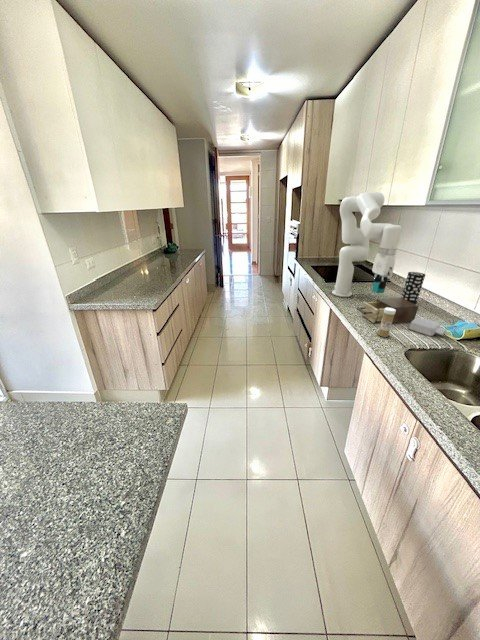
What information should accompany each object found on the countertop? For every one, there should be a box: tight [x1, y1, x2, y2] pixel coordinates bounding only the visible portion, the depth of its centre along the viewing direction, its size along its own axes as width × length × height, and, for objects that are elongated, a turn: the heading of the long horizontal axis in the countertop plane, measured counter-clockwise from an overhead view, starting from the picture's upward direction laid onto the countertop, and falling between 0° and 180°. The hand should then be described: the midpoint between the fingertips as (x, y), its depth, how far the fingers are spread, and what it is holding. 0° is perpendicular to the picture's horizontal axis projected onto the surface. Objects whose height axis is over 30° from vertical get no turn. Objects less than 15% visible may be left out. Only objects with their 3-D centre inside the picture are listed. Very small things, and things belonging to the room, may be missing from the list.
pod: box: [371, 281, 385, 294], centre depth 135 cm, size 4×4×5 cm
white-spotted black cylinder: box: [400, 271, 426, 305], centre depth 151 cm, size 8×8×20 cm
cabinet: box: [376, 297, 419, 325], centre depth 138 cm, size 15×13×9 cm
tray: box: [356, 301, 390, 324], centre depth 136 cm, size 18×11×7 cm, turn 99°
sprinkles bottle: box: [377, 307, 396, 338], centre depth 119 cm, size 5×5×14 cm
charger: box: [409, 316, 451, 337], centre depth 124 cm, size 5×9×15 cm
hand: (378, 286), depth 135 cm, fingers closed on pod, 4 cm apart
